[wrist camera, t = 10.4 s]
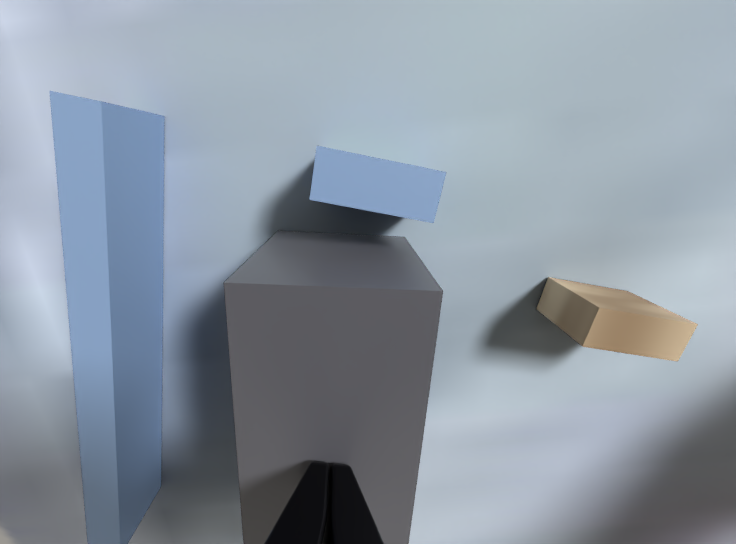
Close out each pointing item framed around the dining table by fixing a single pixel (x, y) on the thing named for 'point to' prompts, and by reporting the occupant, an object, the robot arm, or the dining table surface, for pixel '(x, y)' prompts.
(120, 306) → the separate blue rectangular blocks
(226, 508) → the dining table surface
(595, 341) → the tan wooden block
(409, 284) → the tall grey block
